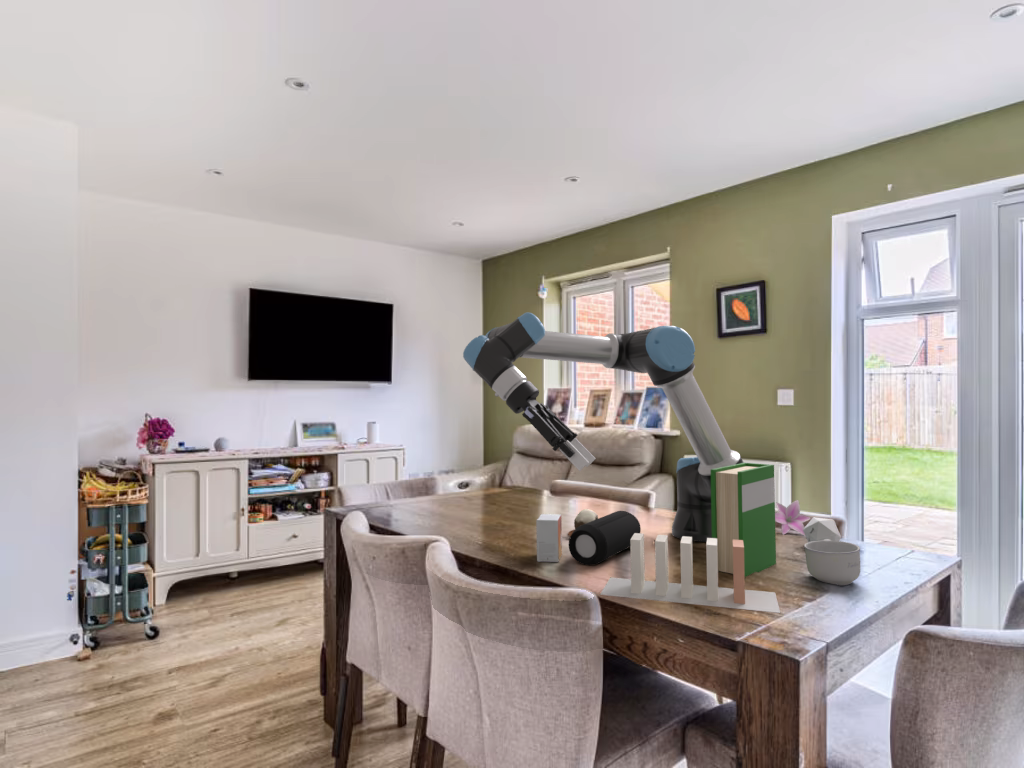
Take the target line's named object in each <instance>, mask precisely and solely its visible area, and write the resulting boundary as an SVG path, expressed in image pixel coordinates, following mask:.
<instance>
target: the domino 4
mask: <svg viewBox="0 0 1024 768" xmlns="http://www.w3.org/2000/svg"><path fill="white" fill-rule="evenodd" d="M705 546H706V553H705V554H706V586H707V600H710V601H718V587H719V571H718V552H717V538H707V542H706V544H705Z"/></svg>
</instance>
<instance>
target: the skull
mask: <svg viewBox="0 0 1024 768" xmlns="http://www.w3.org/2000/svg"><path fill="white" fill-rule="evenodd" d="M596 519H599V516H598V514H597V512H595V511H594V510H592V509H588V508H587V509H582V510H581V511H579V512H578V514H577V515H576V516H575V518H574V522H573V523H574V524H573V527H574V529H572V530H570V531H569V532H567V534H568V536H569V538H570V537H571V535H572V533H573V531H574V530H575V529H576V528H577V527H579V526H581V525H583V524H586V523H588V522H591V521H593V520H596Z"/></svg>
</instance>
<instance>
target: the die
mask: <svg viewBox="0 0 1024 768" xmlns="http://www.w3.org/2000/svg"><path fill="white" fill-rule="evenodd" d="M804 527H805V528H804V529H803V531H804V534H805V538H806V541H807V543H808V542H812V541H822V540H825V539H830V540H831V541H841V539H842V535H841V533H840V530H839V529H838V527H837V524H836V521H835V520H834V519H832V518H824V517H823V518H822V517H814V516H813V517H812V518H811V519H810V521H808V523H807V524H806V525H804Z"/></svg>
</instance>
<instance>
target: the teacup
mask: <svg viewBox="0 0 1024 768" xmlns="http://www.w3.org/2000/svg"><path fill="white" fill-rule="evenodd" d="M803 545H804V553H805V562H806V568H807V571H808V573H809V575H810V576H812V577H813V578H814V579H816V580H817V581H820V582H823V583H825V584H831V585H837V586H847V585H850V584H852V583H853V582H855V581H856V580H857V579H858V578H859V576H860V574H861V555H860V554H861V553H860V551H861V547H860V546H859V545H858V544H855V543H851V542H848V541H841V540H840V541H831V540H830V539H825V540H822V541H812V542H808V541H807V542H806V543H804V544H803Z"/></svg>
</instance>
